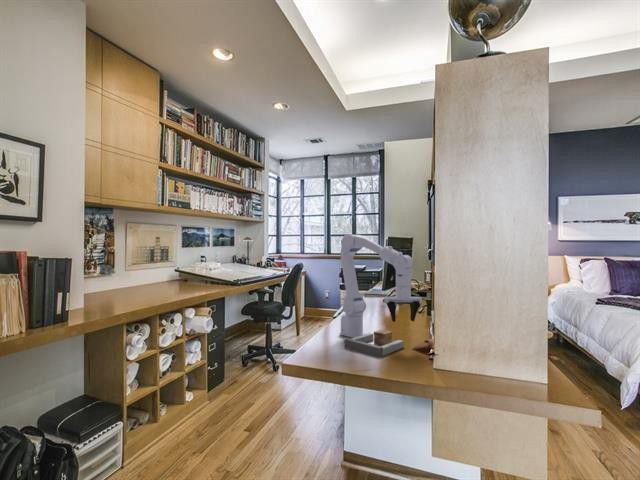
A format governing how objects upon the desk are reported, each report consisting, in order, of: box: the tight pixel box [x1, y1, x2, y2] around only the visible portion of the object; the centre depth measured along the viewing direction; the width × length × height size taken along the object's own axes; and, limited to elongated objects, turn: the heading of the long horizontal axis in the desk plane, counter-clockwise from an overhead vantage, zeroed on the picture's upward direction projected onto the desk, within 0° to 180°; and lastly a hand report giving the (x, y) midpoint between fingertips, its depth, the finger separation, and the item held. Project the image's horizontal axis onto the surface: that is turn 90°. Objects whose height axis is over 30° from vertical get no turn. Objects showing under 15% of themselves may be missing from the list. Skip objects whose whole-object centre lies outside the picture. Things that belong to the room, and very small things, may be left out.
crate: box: [373, 329, 393, 346], centre depth 125 cm, size 5×5×5 cm
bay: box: [343, 332, 405, 358], centre depth 121 cm, size 16×16×3 cm
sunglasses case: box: [411, 338, 433, 354], centre depth 121 cm, size 18×7×7 cm, turn 133°
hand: (403, 321), depth 123 cm, fingers open, 7 cm apart
